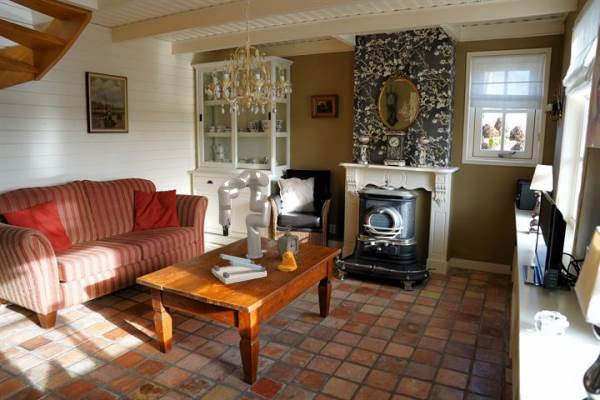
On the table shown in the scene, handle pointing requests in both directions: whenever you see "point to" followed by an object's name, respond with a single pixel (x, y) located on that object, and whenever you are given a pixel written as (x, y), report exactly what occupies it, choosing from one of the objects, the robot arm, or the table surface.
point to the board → (237, 273)
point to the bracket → (288, 262)
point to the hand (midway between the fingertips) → (225, 235)
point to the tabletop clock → (288, 243)
